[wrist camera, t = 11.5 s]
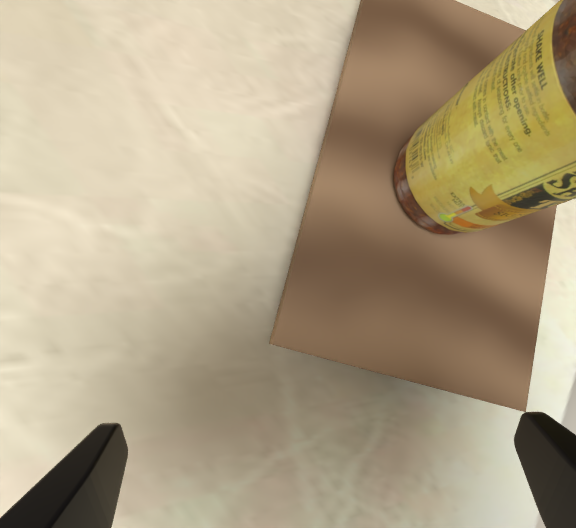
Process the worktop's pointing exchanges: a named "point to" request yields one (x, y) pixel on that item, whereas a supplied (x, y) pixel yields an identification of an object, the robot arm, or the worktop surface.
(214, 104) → the worktop surface
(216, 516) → the worktop surface
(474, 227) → the sauce bottle
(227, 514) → the worktop surface
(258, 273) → the worktop surface
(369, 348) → the shelf stand
